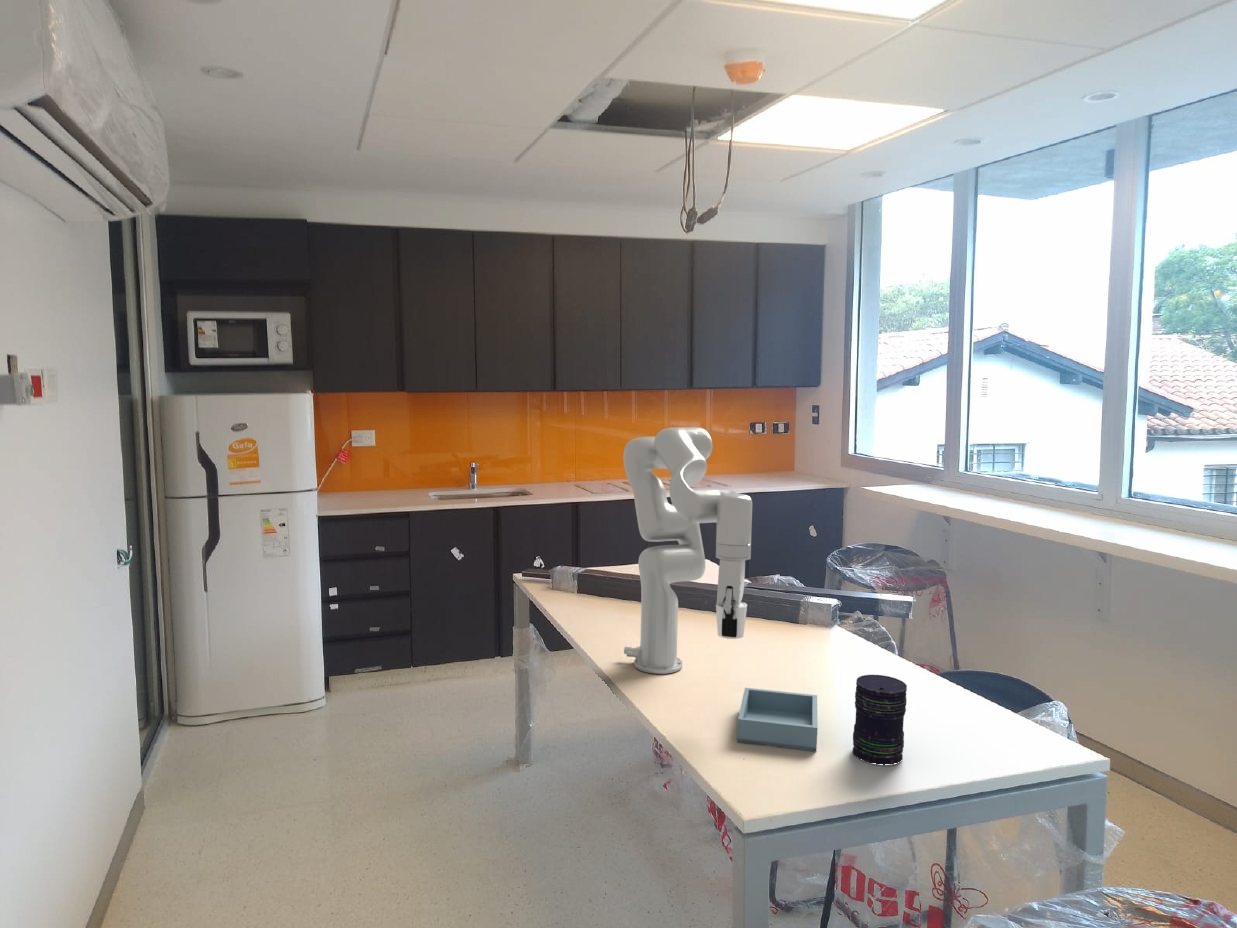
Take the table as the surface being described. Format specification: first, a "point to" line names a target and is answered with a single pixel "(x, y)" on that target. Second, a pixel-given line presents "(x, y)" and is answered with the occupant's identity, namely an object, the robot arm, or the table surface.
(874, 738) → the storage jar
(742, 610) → the white cup
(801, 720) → the open box
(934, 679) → the table surface
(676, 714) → the table surface
